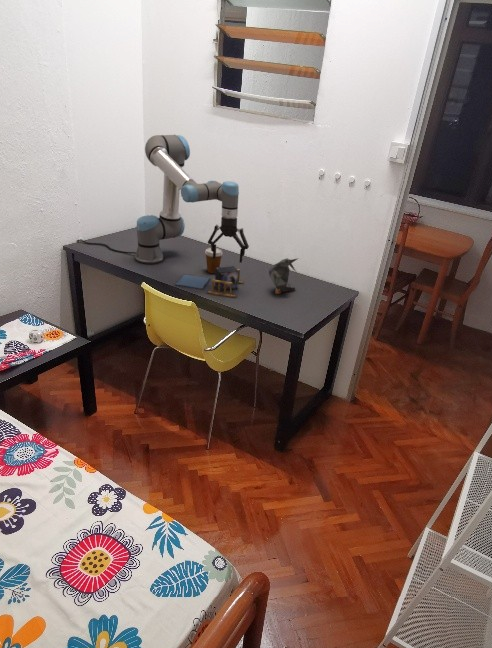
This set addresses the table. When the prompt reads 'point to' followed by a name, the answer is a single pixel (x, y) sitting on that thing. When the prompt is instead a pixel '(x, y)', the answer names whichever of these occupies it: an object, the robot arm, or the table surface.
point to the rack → (224, 287)
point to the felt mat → (192, 281)
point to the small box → (226, 277)
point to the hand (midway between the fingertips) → (227, 259)
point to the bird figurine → (281, 275)
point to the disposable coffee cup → (213, 260)
